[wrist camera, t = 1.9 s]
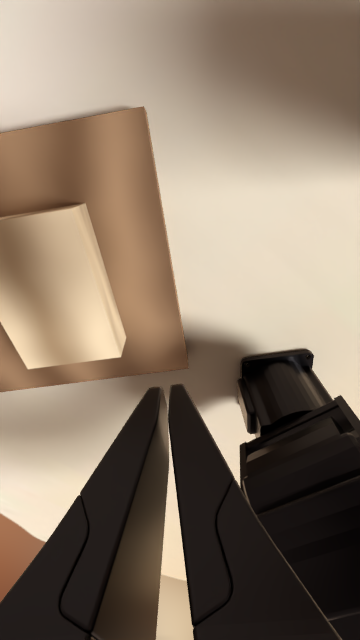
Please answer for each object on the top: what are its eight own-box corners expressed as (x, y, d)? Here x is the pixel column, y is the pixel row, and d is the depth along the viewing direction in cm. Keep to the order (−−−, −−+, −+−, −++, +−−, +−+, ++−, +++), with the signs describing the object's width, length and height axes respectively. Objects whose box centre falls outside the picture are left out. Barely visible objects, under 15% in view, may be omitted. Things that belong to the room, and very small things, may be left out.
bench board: (146, 111, 15) (143, 106, 14) (187, 357, 24) (188, 368, 23) (-231, 181, 16) (-267, 182, 15) (-57, 389, 25) (-70, 400, 24)
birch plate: (85, 203, 16) (71, 208, 14) (126, 337, 21) (120, 357, 19) (-24, 221, 16) (-54, 229, 14) (42, 348, 21) (27, 369, 19)
